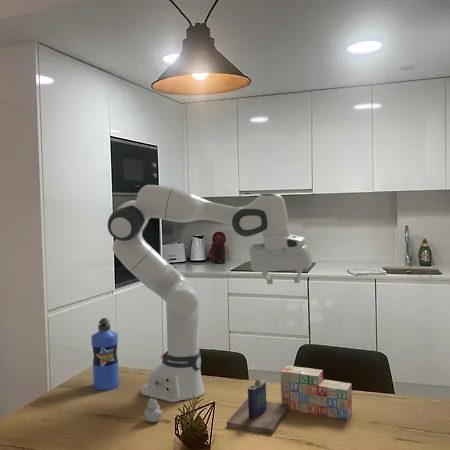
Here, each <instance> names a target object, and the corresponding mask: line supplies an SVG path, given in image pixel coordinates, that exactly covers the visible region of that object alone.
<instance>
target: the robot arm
mask: <svg viewBox="0 0 450 450" xmlns="http://www.w3.org/2000/svg"><path fill="white" fill-rule="evenodd" d="M286 206H287V205H286V203H285V199H284V198H283V196H282V195H280V194H278V193H260V194H259V195H258V196H257V197H256V198H255V199H254V200H253V201H251V202H249V203H248V204H244V205H238V206H236V205H234V206H233V205H229V204H224V203H218V202H213V201H210V200H207V199H205V198H202V197H200V196H199V195H196V194H194V193H192V192H189V191H186V190H184V189H182V188H181V189H180V188H177V187H173V186H168V185H167V186H166V185H156V184H145V185H144V186H142V187H141V188H140V189H139V191H138V193H137V197H136V198H131V199H128V200H126V201H125V202H124V203H122V204H120V205H119V206H118V207H117V208H116V209H115V210H114V211H113V212H112V213H111V214H110V216H109V217H108V220H107V229H108V232H109V234H110V235H111V237H113V238H114V239H115V240H114V242H113V244H112V252H113V253H114V255H115V256H116V258H117V259H118V260H119V261H120V263H121V264H122V265H123V266H124V267H125V268H126V269H127V270H128V271H129V272H130V273H131V274H133V276H134V277H136V279H138V280H139V281H140V282H141V283H142V284H143V285H144V286H145V287H146V288H147V289H149V290H151V291H152V292H153V293H154V294H156V295H157V296H159V297H160V298H161V299H162V300H163V301H164V302H165V304H166V305H165V307H166V308H165V309H166V310H165V312H166V339H167V341H166V342H167V343H166V344H167V348H166V349H167V351H166V352H164V353H163V354H162V355H161V356H160V357H161V358H160V360H163V362H162V363H160V364H159V365H158V366H157V367H155V369H153V370H152V371H151V372H150V373H149V375H148V377H147V383H146V384H144V386H143V387H142V388H141V390H140V394H141V395H144V396H147V397H150V398H151V397H152V398H153V399H154V398H155V399H159V400H162V401H165V402H169V403H170V402H171V403H175V402H179V401H185V400H191V399H196V398H198V397H201V396H202V395H204V393H205V392H206V391H205V389H206V388H205V386H204V383H203V377H202V372H201V366H202V365H201V363H202V359H201V358H202V357H201V351H200V339H199V338H200V335H199V334H200V333H199V329H200V326H199V325H200V323H199V322H200V298H199V294H198V292H197V290H196V286H195V285H194V284H193V283H192V282H191V281H190V280H188V278H187V277H185V276H184V275H183V273H181V272H180V271H179V270H177V269H176V268H175V267H174V266H173V265H172V264H170V263H169V262H168V261H167V260H166V259H165V258H164V257H162V255H161V254H160V253H159V252H157V251H156V250H155V249H154V248H153V247H152V246H151V245H150V244H149V243H147V241H146V240H145V239H144V237H143V233H144V232H145V231H146V229H147V227H148V225H149V223H150V220H151V219H159V220H164V221H167V222H168V221H169V222H173V223H190V222H195V221H202V220H203V221H205V220H206V221H213V222H218V223H221V224H227V225H230V226H232V228H233V230H234V232H235V233H236V234H237V235H239V236H242V237H246V238H247V237H248V238H249V237H252V236H255V235H257V234H259V233H261V234H262V239H263V243H253V244H252V245H250V247H249V249H248V252H249V256H250V269H251V271H253V273H262V276H263V278H264V279H265V280H266V283H267V285H273V283H274V281H273V280H274V279H273V277H270V275H269V272H274V271H275V272H277V271H290V270H292V271H293V270H295V273H297V274H296V276H294V277H293V280H294V283H295V284H299V283H301V278H300V277H301V274H302V272H303V270H304V269H306V270H307V269H309V268H310V267H311V266H312V264H313V261H312V255H311V251H310V248H309V247H308V245H306V241H307V240H306V238H305V237H304V236H300V235H295V234H291V231H290V228H289V225H288V221H289V218H288V212H287V207H286ZM193 395H194V398H193ZM188 397H189V398H190V399H188Z"/></svg>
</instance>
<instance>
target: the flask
mask: <svg viewBox="0 0 450 450" xmlns="http://www.w3.org/2000/svg"><path fill="white" fill-rule="evenodd" d="M255 380H256V381H255V383H254V384H252V385H250V386H249V387H248V388H247V399H248V407H249V418H250V419H255V418H257V417H259V416H261V415H262V414H263V413H264V412H265V411H266V409H267V406H266V402H267V382H266V380H264V379H259V378H255Z"/></svg>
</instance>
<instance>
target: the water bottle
mask: <svg viewBox="0 0 450 450" xmlns="http://www.w3.org/2000/svg"><path fill="white" fill-rule="evenodd" d="M97 326H98V330H97V332H94V333H93V334H92V335H91V347H92V353H93V361H92V379H93V389H94V390H95V391H99V392H106V391H107V392H108V391H113V390H115V389H117V388H118V387H119V386H120V381H119V380H120V377H119V373H120V372H119V359H118V355H117V353H118V344H119V339H118V338H119V337H118V335H119V334H118V332H115V331H112V330H111V324H110V320H109V319H108V318H105V317H103V318H102V317H101V319H100V320H99V322H98V325H97Z"/></svg>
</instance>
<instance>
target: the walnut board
mask: <svg viewBox="0 0 450 450" xmlns="http://www.w3.org/2000/svg"><path fill="white" fill-rule="evenodd" d="M266 406H267V409H266V411H265V412H264V413H263V414H262V415H261V416H259V417H257V418H255V419H250V418H249V407H248V398H246V400H244V402H243V403H242V404H241V405H240V406H239V407H238V408H237V409H236V411H235V412H234V413H233V414H232V415H231V417H230V418H229V419H228V420H227V422H226V427H227V428H229V429H237V430H242V431H250V432H255V433H262V434H266V435H267V434H268V435H274V434H275V432H276V430H277V428H278V427H279V425H280V424H281V422H282V421H283V419H284V417H285V416H286V414H287V412H288V411H289V410H290V409H289V408H288V404H282V403H279V402H271V401H266Z"/></svg>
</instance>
